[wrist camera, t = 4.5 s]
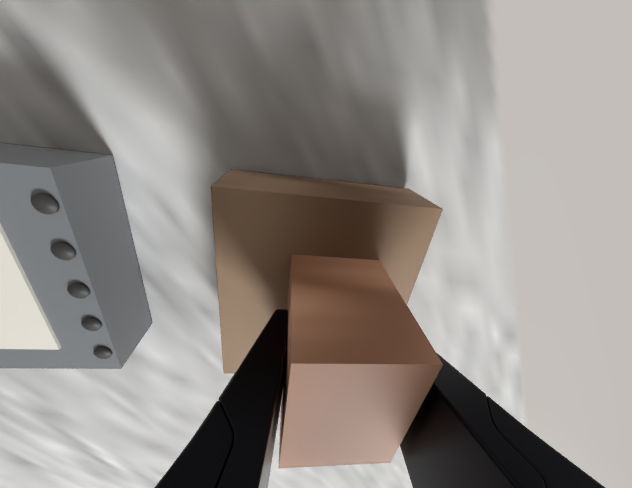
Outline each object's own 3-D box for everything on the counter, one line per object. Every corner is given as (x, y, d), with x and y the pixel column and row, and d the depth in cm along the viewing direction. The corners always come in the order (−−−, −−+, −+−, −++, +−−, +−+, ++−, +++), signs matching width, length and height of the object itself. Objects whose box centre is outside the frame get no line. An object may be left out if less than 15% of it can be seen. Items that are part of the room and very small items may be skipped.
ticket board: (-12, 318, 11) (-90, 370, 9) (-133, 128, 8) (-316, 132, 5) (152, 322, 12) (119, 371, 10) (112, 155, 9) (46, 168, 6)
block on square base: (235, 328, 13) (187, 507, 7) (231, 169, 9) (120, 260, 3) (366, 331, 13) (421, 490, 8) (409, 188, 10) (571, 286, 4)
